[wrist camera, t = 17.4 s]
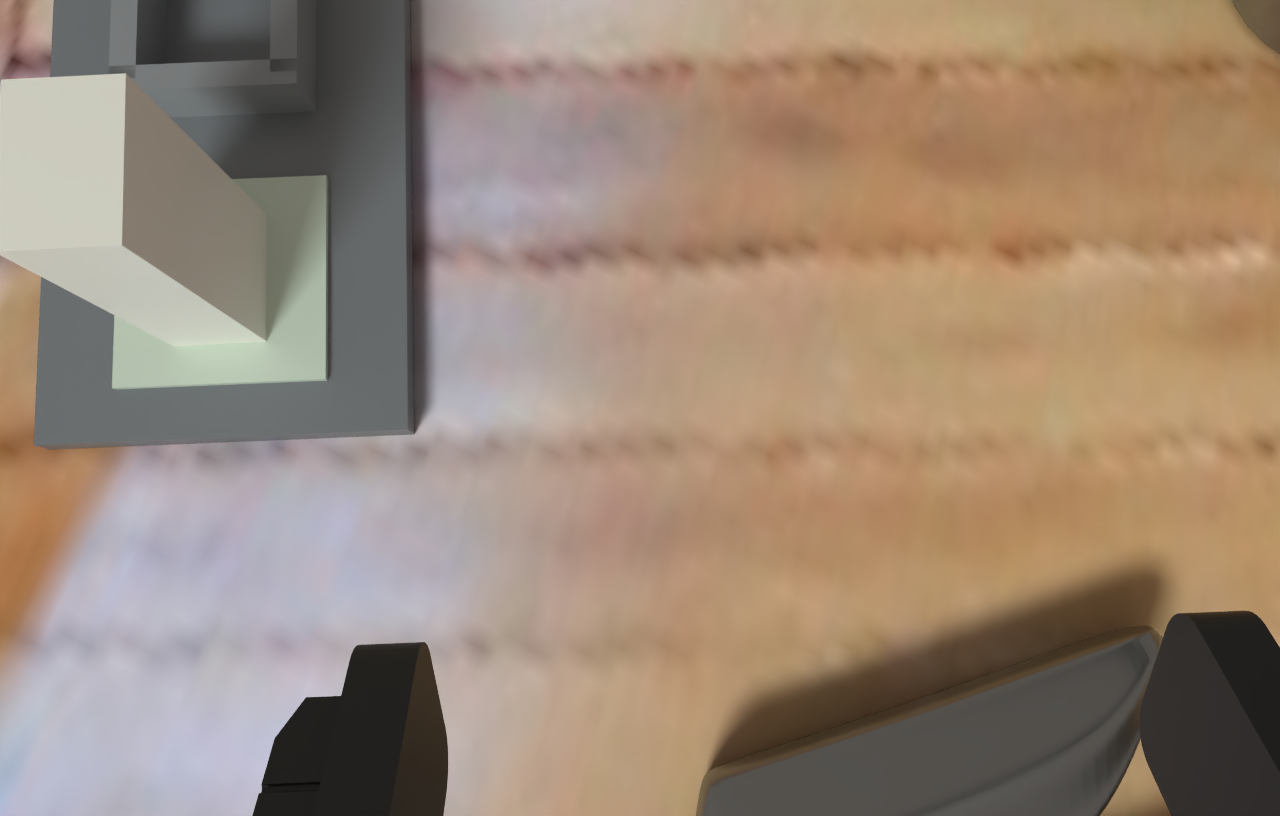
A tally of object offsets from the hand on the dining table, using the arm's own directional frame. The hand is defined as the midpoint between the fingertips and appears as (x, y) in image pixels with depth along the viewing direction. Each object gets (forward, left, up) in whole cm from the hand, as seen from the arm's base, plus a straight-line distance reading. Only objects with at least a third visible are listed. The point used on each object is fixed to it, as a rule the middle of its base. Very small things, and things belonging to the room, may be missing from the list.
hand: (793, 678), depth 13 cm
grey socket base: (-11, -23, -31) cm, 40 cm away
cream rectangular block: (-6, -21, -29) cm, 36 cm away
